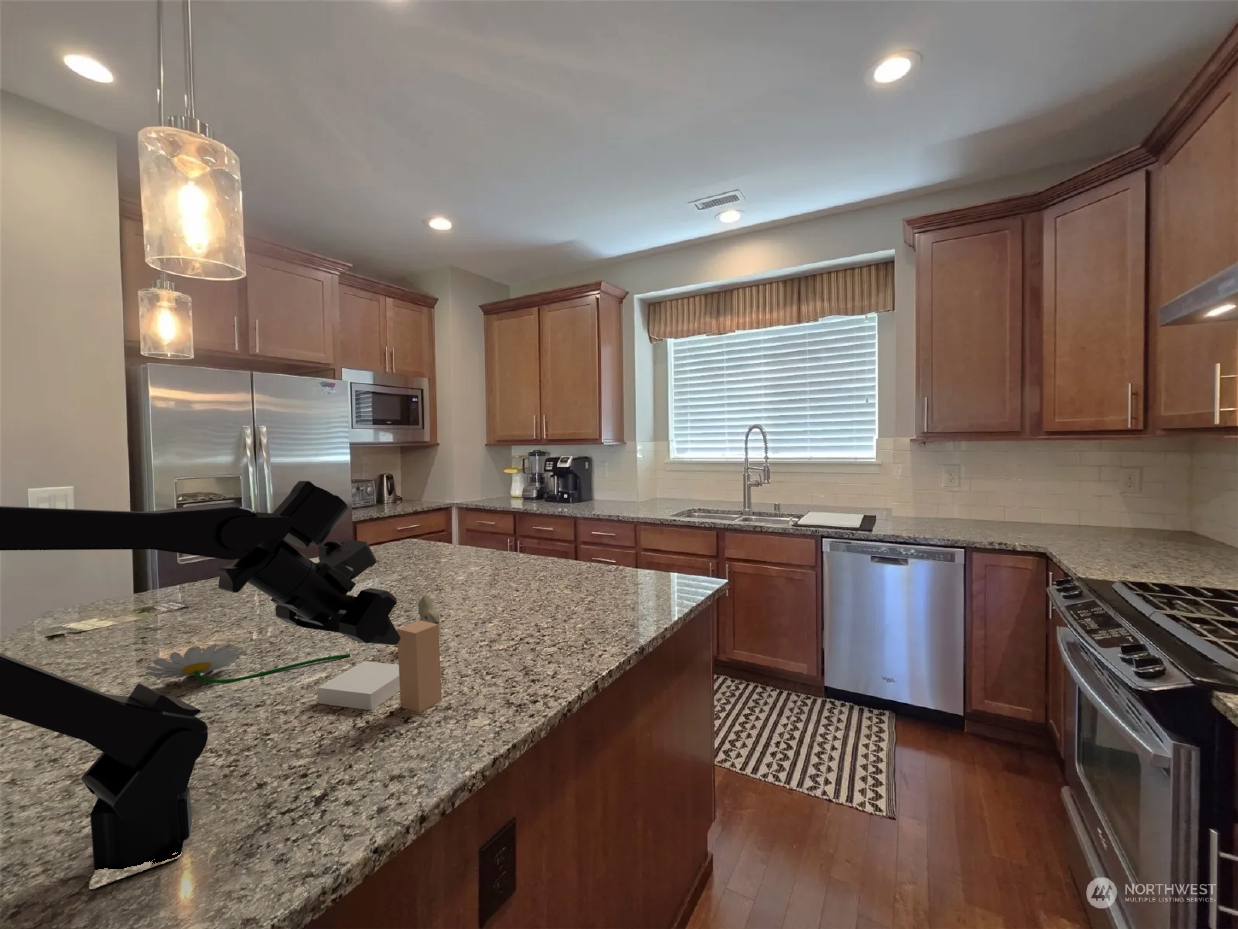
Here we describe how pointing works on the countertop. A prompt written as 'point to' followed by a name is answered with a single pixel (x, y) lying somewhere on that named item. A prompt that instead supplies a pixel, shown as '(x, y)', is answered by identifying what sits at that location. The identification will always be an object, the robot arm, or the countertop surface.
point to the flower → (210, 663)
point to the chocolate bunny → (428, 610)
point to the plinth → (361, 686)
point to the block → (419, 666)
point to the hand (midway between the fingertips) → (376, 636)
